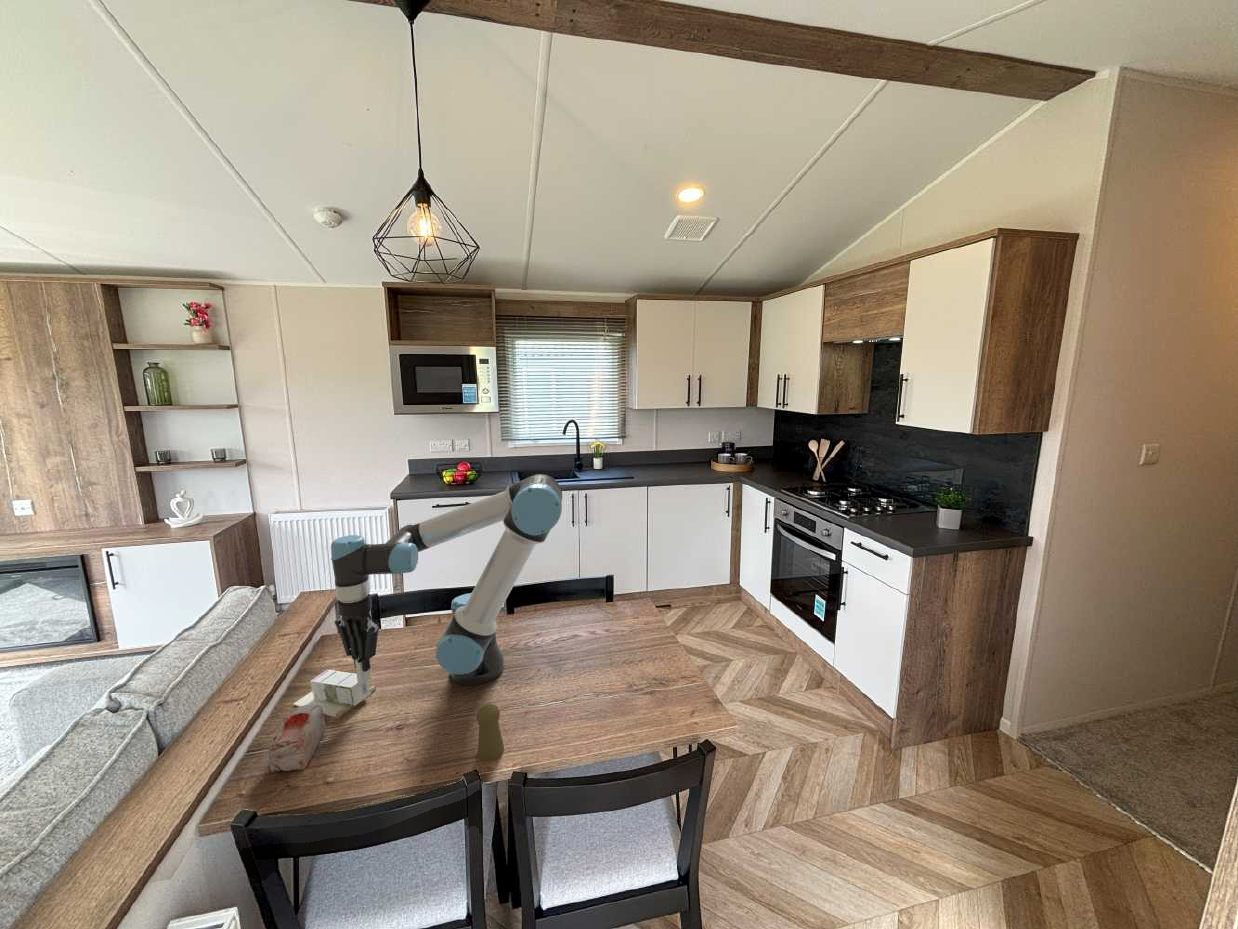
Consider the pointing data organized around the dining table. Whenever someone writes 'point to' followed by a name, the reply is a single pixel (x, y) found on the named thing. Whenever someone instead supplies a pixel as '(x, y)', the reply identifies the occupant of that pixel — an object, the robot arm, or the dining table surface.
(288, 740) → the food item
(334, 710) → the trivet
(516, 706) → the dining table surface
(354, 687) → the syrup box
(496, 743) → the olive green shaker
